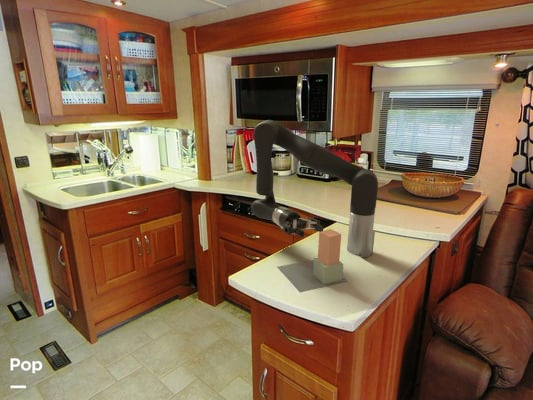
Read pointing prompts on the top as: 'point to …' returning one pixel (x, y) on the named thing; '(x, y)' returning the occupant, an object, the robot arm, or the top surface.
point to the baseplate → (304, 276)
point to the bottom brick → (328, 271)
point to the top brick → (329, 247)
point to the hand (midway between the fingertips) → (313, 232)
